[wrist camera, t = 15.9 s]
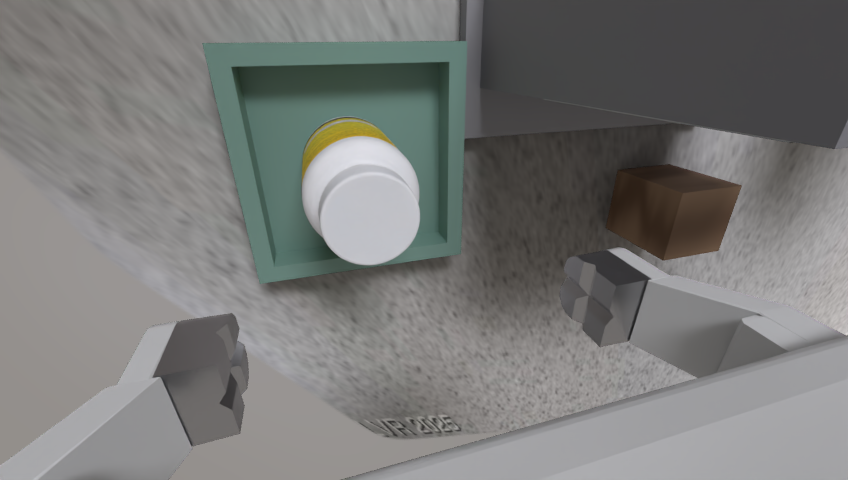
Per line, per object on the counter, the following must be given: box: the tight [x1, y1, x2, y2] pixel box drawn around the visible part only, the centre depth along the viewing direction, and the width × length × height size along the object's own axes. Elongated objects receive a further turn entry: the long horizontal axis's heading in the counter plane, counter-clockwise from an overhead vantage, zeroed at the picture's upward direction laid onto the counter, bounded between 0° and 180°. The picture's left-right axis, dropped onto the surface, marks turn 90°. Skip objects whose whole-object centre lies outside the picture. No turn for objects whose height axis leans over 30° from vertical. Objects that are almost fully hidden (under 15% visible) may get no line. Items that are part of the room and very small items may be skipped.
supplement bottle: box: [301, 116, 420, 265], centre depth 19 cm, size 5×5×10 cm
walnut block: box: [606, 164, 741, 260], centre depth 29 cm, size 5×5×6 cm
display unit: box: [460, 0, 848, 149], centre depth 17 cm, size 12×20×19 cm, turn 91°
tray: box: [202, 41, 467, 284], centre depth 23 cm, size 13×13×2 cm
